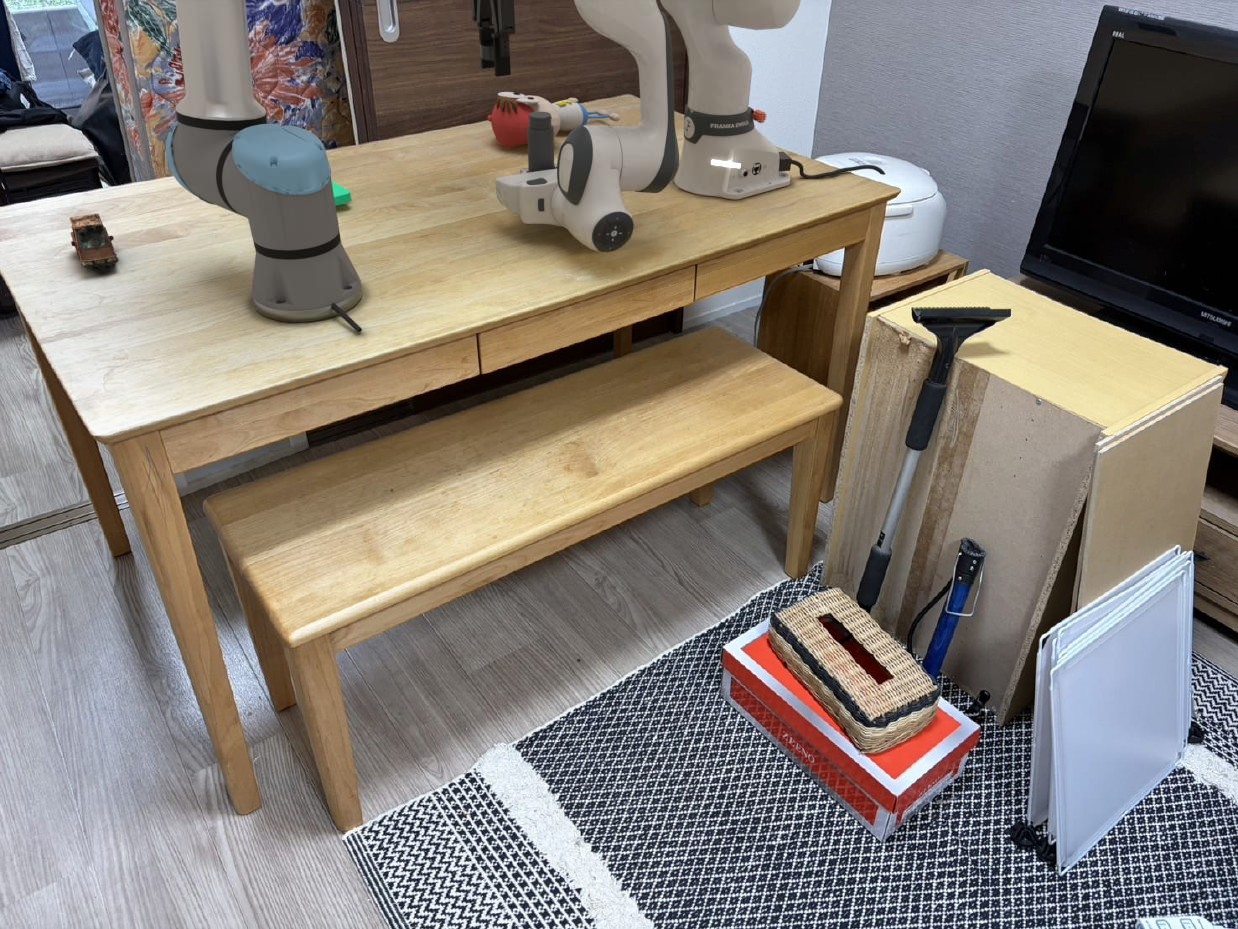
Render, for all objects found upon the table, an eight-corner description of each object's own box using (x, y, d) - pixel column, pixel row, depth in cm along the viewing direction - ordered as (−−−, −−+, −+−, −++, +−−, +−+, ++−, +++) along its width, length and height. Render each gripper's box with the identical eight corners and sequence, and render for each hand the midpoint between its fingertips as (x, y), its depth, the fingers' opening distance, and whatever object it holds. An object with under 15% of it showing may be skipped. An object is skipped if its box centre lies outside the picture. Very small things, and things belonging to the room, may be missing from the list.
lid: (475, 56, 164) (474, 42, 162) (499, 51, 166) (498, 38, 165) (491, 62, 161) (490, 48, 159) (515, 57, 163) (515, 44, 162)
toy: (638, 98, 193) (509, 99, 178) (634, 148, 198) (509, 154, 183) (593, 85, 207) (469, 85, 192) (590, 133, 211) (469, 136, 196)
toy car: (109, 242, 148) (95, 200, 144) (132, 268, 141) (118, 225, 137) (66, 252, 145) (51, 209, 141) (87, 279, 138) (72, 235, 133)
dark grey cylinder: (526, 206, 165) (523, 111, 155) (550, 203, 166) (548, 109, 157) (534, 215, 162) (531, 119, 152) (558, 212, 163) (557, 117, 153)
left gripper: (444, -85, 155) (456, 61, 170) (489, -70, 143) (498, 86, 157) (485, -87, 159) (493, 57, 173) (533, -73, 146) (537, 81, 160)
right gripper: (629, 170, 153) (593, 144, 163) (513, 187, 145) (483, 159, 155) (627, 206, 157) (593, 180, 166) (514, 225, 149) (485, 196, 159)
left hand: (495, 70), depth 165 cm, fingers closed on lid, 5 cm apart
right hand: (539, 170), depth 161 cm, fingers closed on dark grey cylinder, 4 cm apart
